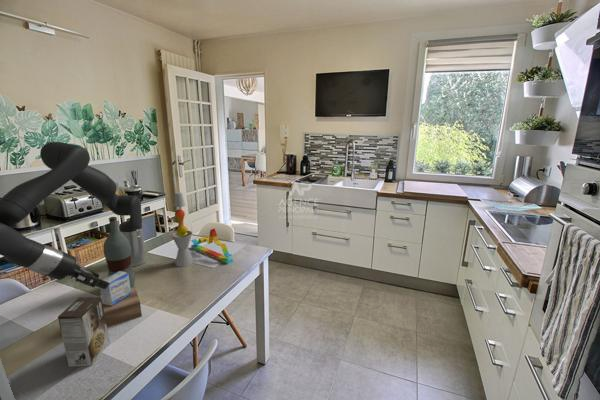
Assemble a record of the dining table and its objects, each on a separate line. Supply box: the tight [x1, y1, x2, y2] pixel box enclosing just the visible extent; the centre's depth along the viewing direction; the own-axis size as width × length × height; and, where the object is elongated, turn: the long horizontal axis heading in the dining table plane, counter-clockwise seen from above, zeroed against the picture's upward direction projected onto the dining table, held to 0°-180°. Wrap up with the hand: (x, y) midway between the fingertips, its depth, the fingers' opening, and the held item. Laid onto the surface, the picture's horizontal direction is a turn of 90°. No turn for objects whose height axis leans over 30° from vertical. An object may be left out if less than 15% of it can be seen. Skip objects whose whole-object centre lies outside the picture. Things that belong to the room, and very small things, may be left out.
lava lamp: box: [171, 191, 195, 268], centre depth 135 cm, size 9×9×35 cm
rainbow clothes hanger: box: [190, 228, 233, 265], centre depth 147 cm, size 30×3×15 cm, turn 54°
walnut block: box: [97, 286, 143, 328], centre depth 101 cm, size 12×12×6 cm
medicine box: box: [99, 271, 131, 306], centre depth 99 cm, size 8×4×9 cm, turn 164°
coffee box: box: [57, 296, 110, 368], centre depth 81 cm, size 9×6×16 cm
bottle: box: [103, 216, 136, 288], centre depth 114 cm, size 9×9×30 cm
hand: (102, 281), depth 95 cm, fingers open, 8 cm apart
